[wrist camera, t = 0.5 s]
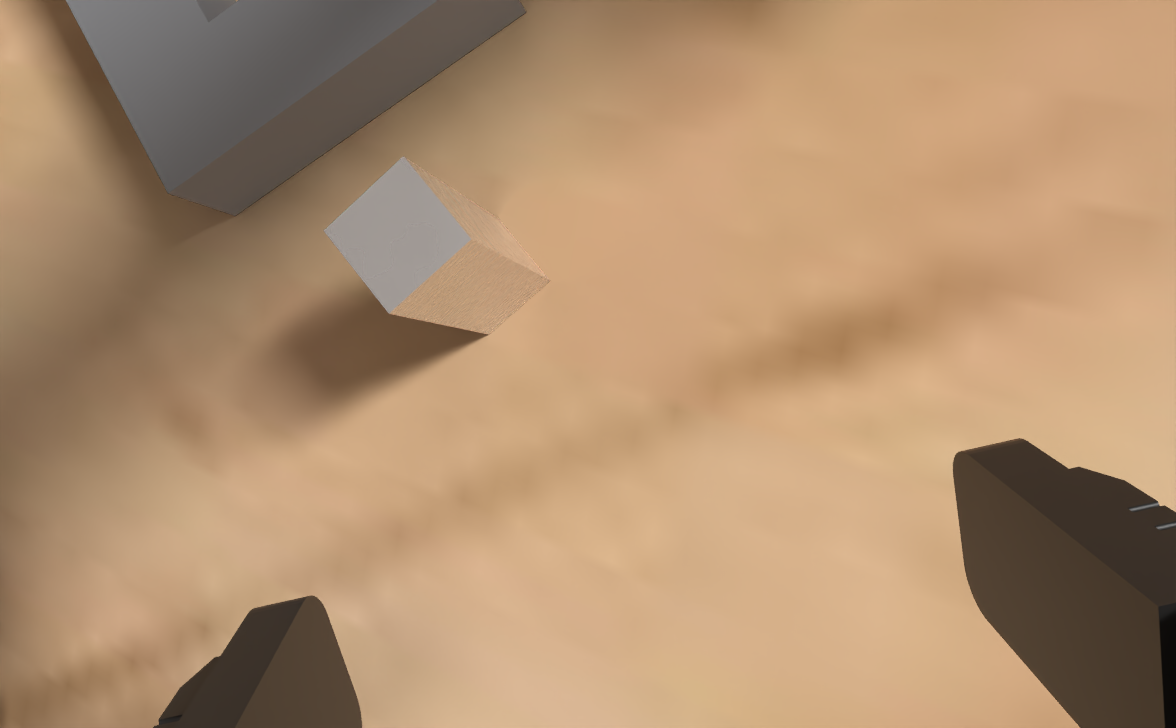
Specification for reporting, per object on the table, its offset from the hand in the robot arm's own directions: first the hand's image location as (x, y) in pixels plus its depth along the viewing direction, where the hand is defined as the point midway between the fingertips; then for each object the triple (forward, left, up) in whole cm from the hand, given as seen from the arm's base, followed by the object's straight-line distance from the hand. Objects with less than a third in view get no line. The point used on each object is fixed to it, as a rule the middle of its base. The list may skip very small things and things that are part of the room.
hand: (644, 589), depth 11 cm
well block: (+6, -28, -24) cm, 38 cm away
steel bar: (+5, -11, -24) cm, 27 cm away
